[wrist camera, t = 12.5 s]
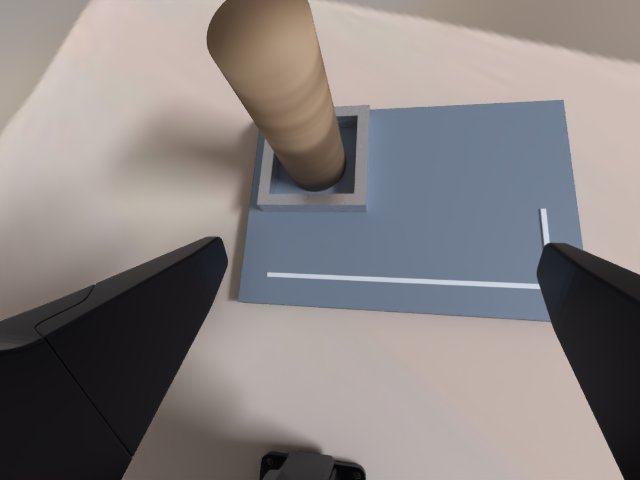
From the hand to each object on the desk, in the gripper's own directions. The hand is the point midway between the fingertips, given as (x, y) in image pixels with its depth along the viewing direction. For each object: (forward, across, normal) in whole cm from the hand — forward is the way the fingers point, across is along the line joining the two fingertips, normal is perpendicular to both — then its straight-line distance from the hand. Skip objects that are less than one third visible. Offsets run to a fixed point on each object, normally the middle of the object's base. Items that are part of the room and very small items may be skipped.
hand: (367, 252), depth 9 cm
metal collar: (+16, +5, +2) cm, 16 cm away
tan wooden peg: (+16, +5, +2) cm, 16 cm away
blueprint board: (+14, -1, +5) cm, 15 cm away
